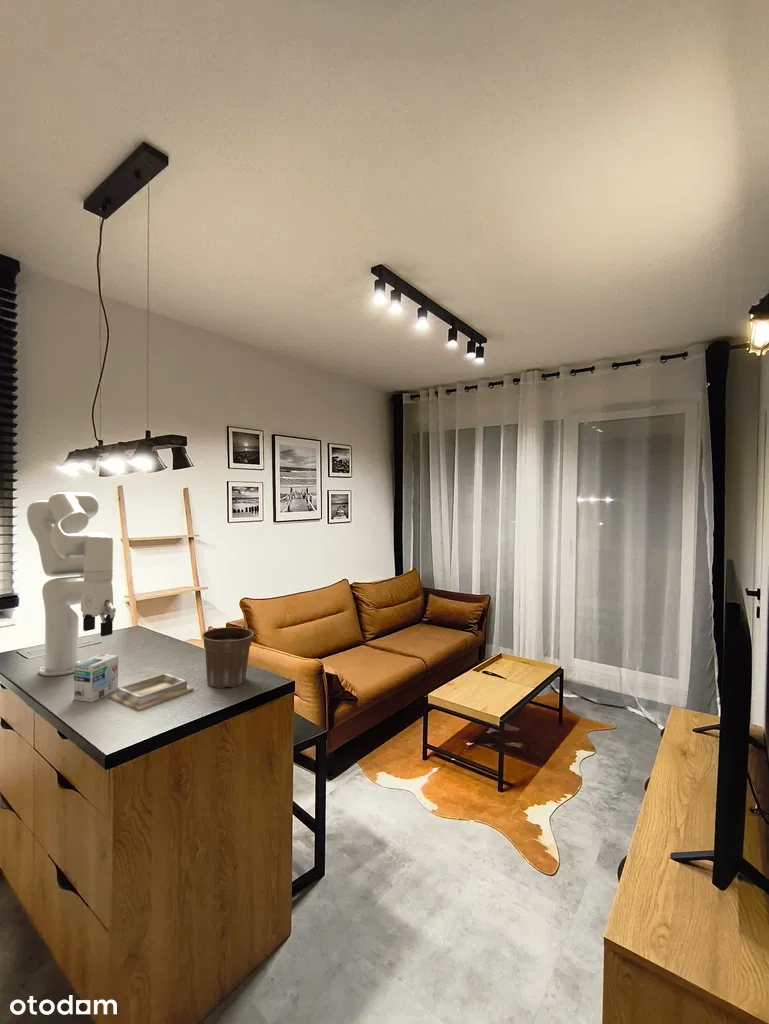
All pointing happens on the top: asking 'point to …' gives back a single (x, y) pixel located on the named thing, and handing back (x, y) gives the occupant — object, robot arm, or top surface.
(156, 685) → the collar
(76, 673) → the light bulb box
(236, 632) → the plant pot
